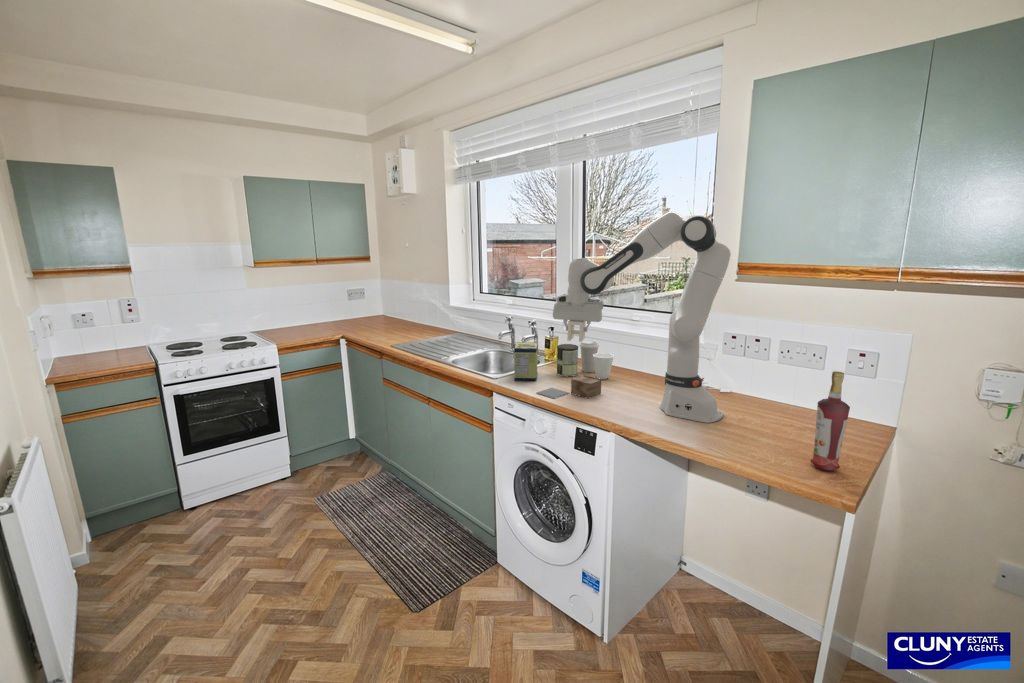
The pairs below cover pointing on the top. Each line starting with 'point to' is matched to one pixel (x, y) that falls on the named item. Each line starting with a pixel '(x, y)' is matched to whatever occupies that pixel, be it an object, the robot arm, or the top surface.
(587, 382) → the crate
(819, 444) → the liquor
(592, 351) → the coffee cup
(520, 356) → the protein box
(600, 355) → the cup
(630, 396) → the top surface
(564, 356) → the coffee can
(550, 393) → the mat
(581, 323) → the cream square bin
